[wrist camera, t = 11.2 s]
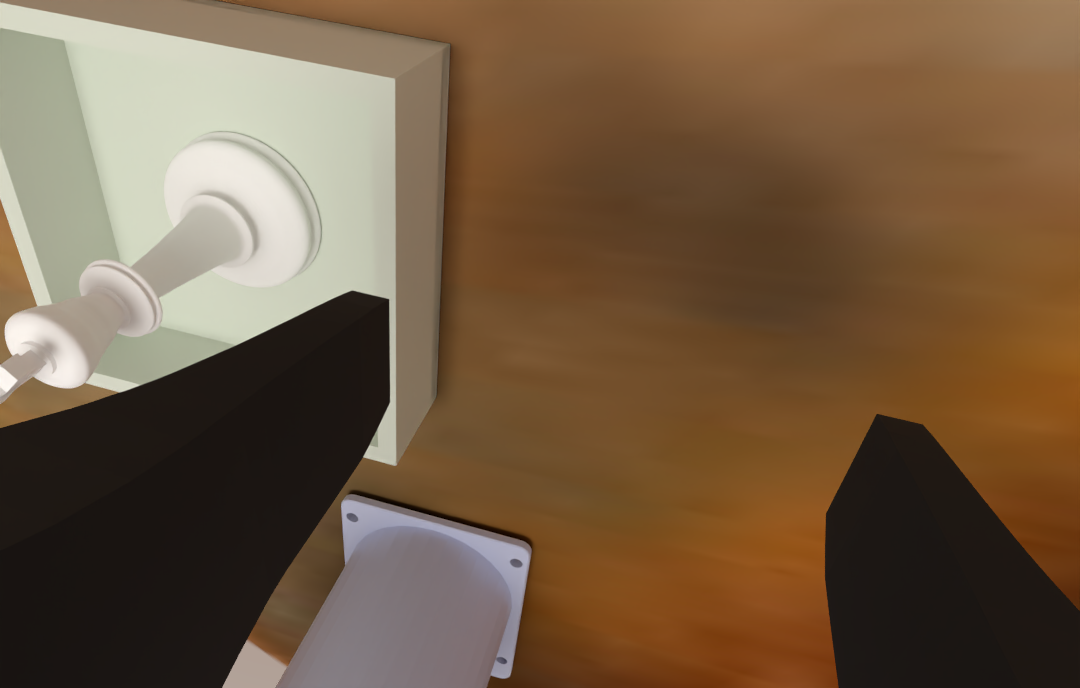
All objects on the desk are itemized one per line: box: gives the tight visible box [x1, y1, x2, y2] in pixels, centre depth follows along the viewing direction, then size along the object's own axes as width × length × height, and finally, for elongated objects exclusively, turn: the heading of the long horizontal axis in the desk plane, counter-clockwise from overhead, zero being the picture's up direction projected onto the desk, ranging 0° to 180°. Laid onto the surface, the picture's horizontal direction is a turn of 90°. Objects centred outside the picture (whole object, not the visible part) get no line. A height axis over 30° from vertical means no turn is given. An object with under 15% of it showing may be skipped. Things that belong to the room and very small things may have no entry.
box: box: [0, 0, 450, 466], centre depth 22 cm, size 12×12×4 cm
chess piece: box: [0, 132, 321, 404], centre depth 19 cm, size 5×5×10 cm
